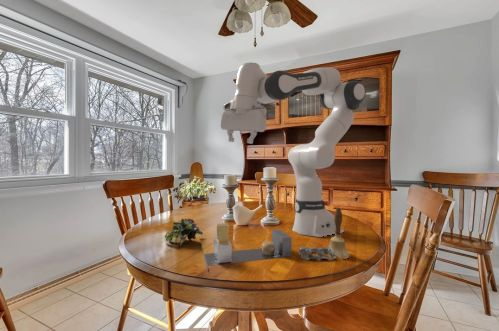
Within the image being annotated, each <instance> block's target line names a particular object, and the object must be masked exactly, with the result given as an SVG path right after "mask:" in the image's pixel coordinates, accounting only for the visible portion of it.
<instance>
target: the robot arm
mask: <svg viewBox="0 0 499 331" xmlns="http://www.w3.org/2000/svg"><path fill="white" fill-rule="evenodd" d="M341 79H342V78H341V73H340V72H339V70H338V69H337V68H335V67H316V68H311V69H308V70H306V71H303V72H301V73H290V72H287V71H285V70H280V69H279V70H276V71H274V72H272V73H271V74H269V75H268V74H266V73H265V72H264V71H263V69H262V68H261V66H260V65H259V63H256V62H247V63H244V64H242V65H241V66H239V69H238V72H237V76H236V82H235V94H234V96H233V99H232V100H230V101H228V102H226V103H224V104H223V106H222V110H223V111H222V114H221V119H220V128H221V130H223V131H226V132H227V135H228V142H229V143H235V137H234V135H233V134H234V132H249V133H250V136H249V137H248V138H247V140H246V143H247V144H251V145H253V143H254V139H255V138H256V136H257V135H258V132H259V133H263V132H265V131H266V129H267V114H268V112H267V111H268V110H267V108H266V107H265V106H264V105H265V104H266V105H267V104H271V103H274V102H277V101H282V100H286V99H289V97H291V96H292V95H293V94H294V93H296V92H302V93H303V95H305V96H317V95H319V98H318V99H319V103H320V105H321V107H322V108H324V109H326V110H331V112H330V114H329V115H328V116H327V117H326V118H325V119H324V120H323V122H322V123H320V125H319V126H318V127H317V128H316V130H315V132H314V136H315V137H314V138H313V140H312V141H311V142H309V143H302V144H297V145H296V146H293V147H291V148H290V149H289V150H288V154H287V159H288V162H289V164H290V165H291V167H292V170H293V173H294V177H295V182H296V192H295V193H296V196H295V197H296V198H295V202H294V206H295V209H294V210H295V214H294V215H295V217H294V222H293V226H292V230H291V231H292V232H296V233H298V234H299V235H304V236H310V237H311V236H312V237H316V238H323V236H324V237H328V236H327V235H330V236H333V235H332V234H335V228H336V226H335V222H334V213H332V212H331V211H329V210H328V209H327V208H326V207H330V205H331V202H330V201H327V200H325V201H324V200H323V199H322V198H323V182H322V180H321V179H320V178H319V176H318V174H317V171H316V170H321V169H326V168H329V167H331V166H332V165H333V164H334V162H335V158H336V152H335V147H336V145H337V144H338V143H339V141H340V140H341V139H342V138H343V137H344V135H345V134H346V133H347V132H348V130H349V129H350V127H351V126H352V124H353V122H354V120H355V115H354V114H355V113H354V112H353V110H357V109H358V108H359V107H360V105H361V104H362V102H363V101H364V99H365V97H366V92H367V91H366V87H365V84H364V83H363V82H362V81H359V80H350V81H346V82H342V81H341ZM258 103H260V104H264V105H257V104H258ZM340 232H344V233H345V230H344V228H342V227H340Z"/></svg>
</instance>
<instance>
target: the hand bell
mask: <svg viewBox="0 0 499 331" xmlns="http://www.w3.org/2000/svg"><path fill="white" fill-rule="evenodd" d="M333 215H334V222H335V226H336V228H335V235H334V236H333V237H331V238H330V240H329V244H328V247H330V248H331V250H332V252H333V253H334V255H335V257H336V258H339V259H341V260H342V259H344V258H348V257H349V256H350V257H351V255H350V253H349V252H348V250H347V248H346V241H345V239H344V238H343V237H341V234H342V233H340V228H341V225H342V223H343V212H342V209H341V207H336V209H335V211H334V213H333Z"/></svg>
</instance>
